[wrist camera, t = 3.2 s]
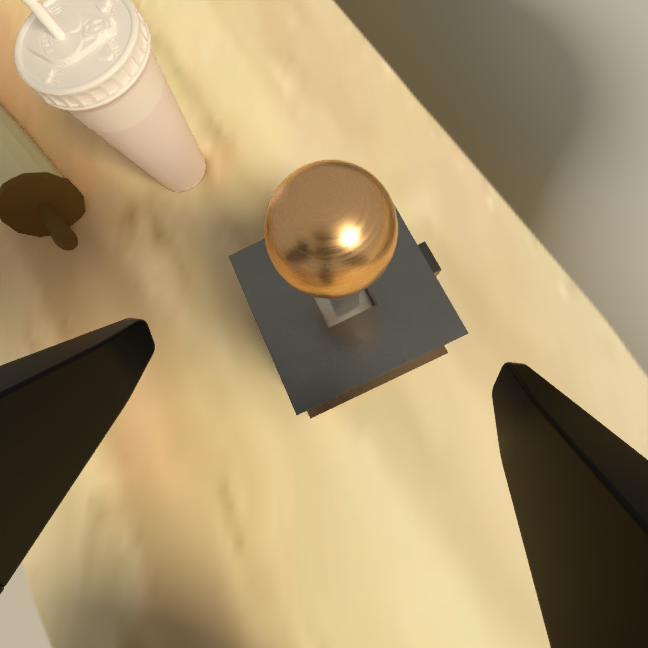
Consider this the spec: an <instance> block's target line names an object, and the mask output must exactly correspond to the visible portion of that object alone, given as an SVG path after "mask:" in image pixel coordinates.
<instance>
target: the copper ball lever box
mask: <svg viewBox="0 0 648 648" xmlns="http://www.w3.org/2000/svg"><path fill="white" fill-rule="evenodd" d="M394 207H395V205H394ZM395 210H396V215H397V221H398V237H397V244H396V248H395V252H394V254H393V256H392V259H391V261H390V263H389V265H388V267H387V268H386V270H385V271H384V272H383V274H382V275H381V276H380V277H379V278H378V279H377V280H376V281H375V282H374V283H373V284H372V285H370V286H369V287H368V288H366V289H367V291H368V293H369V295H370V296H371V298H372V300H373V302H374V304H375V306H373V307H371V308H369V309H367V310H365V311H363V312H361V313H358V314H356V315H354V316H352V317H350V318H348V319H346V320H344V321H342V322H340V323H338V324H336V325H333V326H331V327H329V328H328V326H327V324H326V322H325V319H324V317H323V315H322V313H321V311H320V309H319V307H318V305H317V303H316V301H315V299H314V297H313V296H310V295H307V294H305V293H302V292H301V291H299V290H297V289H295V288H294V287H292V286H291V285H290V284H289V283H287V282H286V281H285V279H284V278H283V277H282V276H281V275H280V274H279V273H278V271H277V270H276V269H275V267H274V265H273V263H272V261H271V259H270V257H269V254H268V252H267V248H266V244H265V239H263V240H261V241H259V242H257V243H255V244H253V245H251V246H249V247H247V248H245V249H243V250H241V251H239V252H237V253H235V254H232V255H230V256H229V258H230V261H231V263H232V265H233V268H234V270H235V272H236V275H237V277H238V279H239V282H240V284H241V286H242V289H243V291H244V293H245V296H246V298H247V300H248V303H249V305H250V307H251V310H252V312H253V314H254V317H255V319H256V321H257V324H258V326H259V328H260V331H261V333H262V335H263V338H264V340H265V342H266V345H267V347H268V349H269V352H270V354H271V356H272V359H273V361H274V363H275V366H276V368H277V370H278V373H279V375H280V377H281V380H282V382H283V384H284V387H285V389H286V391H287V394H288V396H289V398H290V401H291V403H292V405H293V408H294V410H295V412H296V415H298V414H300V413H303V412H305V411H307V412H308V414H309V416H310V418H312V417H314V416H317V415H319V414H321V413H323V412H325V411H327V410H329V409H331V408H333V407H335V406H338V405H340V404H342V403H344V402H346V401H348V400H350V399H352V398H354V397H356V396H359V395H361V394H363V393H365V392H367V391H369V390H371V389H373V388H375V387H377V386H380V385H382V384H384V383H386V382H388V381H390V380H392V379H394V378H396V377H398V376H400V375H403V374H405V373H407V372H409V371H411V370H413V369H415V368H417V367H419V366H421V365H424V364H426V363H428V362H430V361H432V360H434V359H436V358H438V357H440V356H442V355H445V354H447V353H448V352H447V350H446V348H445V346H444V345H445V344H447V343H449V342H452V341H454V340H456V339H458V338H460V337H462V336H464V335H466V334H468V332H467V330H466V328H465V326H464V325H463V323H462V321H461V320H460V318H459V316H458V314H457V313H456V311H455V309H454V307H453V306H452V304H451V302H450V301H449V299H448V297H447V295H446V294H445V292H444V290H443V288H442V287H441V285H440V283H439V281H438V280H437V278H436V276H437V275H438V274H439V272H440V271H441V268H440V266H439V265H438V263H437V261H436V260H435V258H434V256H433V254H432V253H431V251H430V249H429V248H428V246H427V244H426V242H423V243H421V244H419V245H417V243H416V242H415V240H414V238H413V237H412V235H411V233H410V231H409V230H408V228H407V226H406V224H405V223H404V221H403V219H402V218H401V216H400V214H399V212H398V211H397V209H396V207H395Z"/></svg>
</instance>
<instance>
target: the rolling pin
mask: <svg viewBox="0 0 648 648" xmlns="http://www.w3.org/2000/svg"><path fill="white" fill-rule="evenodd" d="M84 212H85V207H84V198H83V195H82V194H81V193H80V192H79V190H78V189H77V188H76V187H75V186H74V185H73V184H72V183H71V182H70V181H69V180H68V179H65V178H64V177H63V176H62V175H61V174H60V172H59V171H58V170H57V169H56V168H55V166H54V165H53V164H52V163H51V162H50V160H49V159H48V158H47V157H46V156H45V155H44V153H43V152H42V151H41V150H40V149H39V147H38V146H37V145H36V144H35V143H34V141H33V140H32V139H31V138H30V137H29V136H28V134H27V133H26V132H25V131H24V130H23V129H22V128H21V127H20V126H19V125H18V123H17V122H16V121H15V120H14V119H13V118H12V117H11V116H10V115H9V113H8V112H7V111H6V110H5V109H4V108H3V107H2V106H1V105H0V219H1V220H2V222H4V223H5V224H7V225H8V226H10V227H11V228H12V229H14V230H15V231H17V232H18V233H22V234H27V235H33V236H38V237H42V236H49V235H51V236H52V238H53V240H54V242H55V243H56V244H57V246H59V247H60V248H62V249H63V250H73V249H74V248H76V247H77V245H78V240H77V237H76V235H75V233H74V232H73V231H72V230H71V229H70V228H69V227H70V226H71V225H73V224H74V223H75V222H76V221H77V220H79V219H80V218H81V217H82V215H83V213H84Z"/></svg>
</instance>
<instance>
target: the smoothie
mask: <svg viewBox="0 0 648 648" xmlns="http://www.w3.org/2000/svg"><path fill="white" fill-rule="evenodd" d="M22 1H23V2H24V3H25V4H26V6H27V7H28V8H29V9H30V10H31V11H32V13H31V14H30V15H29V16H28V18H27V19H26V20H25V22H24V24H23V25H22V27H21V29H20V31H19V33H18V36H17V39H16V42H15V50H14V56H15V64H16V68H17V70H18V73H19V75H20V76H21V78H22V79H23V80H24V81H25V82H26V83H27V84H28V85H29V86H30V87H31V88H32V89H33V90H34V91H36V93H37V94H38V95H39V96H40V97H41V98H42V99H43V100H44V101H45V102H46V103H47V104H49V105H52V106H54V107H56V108H59V109H61V110H66V111H68V112H69V113H70V114H72V115H73V116H74V117H75V118H77V119H78V120H79V121H80V122H82V123H83V124H84V125H85V126H87V127H88V128H90V129H91V130H92V131H94V132H95V133H96V134H97V135H99V136H100V137H101V138H103V139H104V140H105V141H106V142H108V143H109V144H110V145H112V146H113V147H114V148H116V149H117V150H118V151H119V152H121V153H122V154H123V155H125V156H126V157H127V158H128V159H130V160H131V161H132V162H134V163H135V164H136V165H137V166H139V167H140V168H141V169H143V170H144V171H145V172H147V173H148V174H149V175H150V176H152V177H153V178H154V179H156V180H157V181H158V182H159V183H161V184H162V185H163V186H165V187H166V188H167V189H169V190H171V191H176V192H182V191H187V190H189V189H191V188H193V187H195V186H196V185H197V184H198V183H199V182H200V181H201V180H202V178H203V176H204V174H205V170H206V163H205V159H204V157H203V155H202V153H201V151H200V149H199V147H198V145H197V143H196V141H195V138H194V136H193V134H192V132H191V130H190V128H189V126H188V124H187V122H186V120H185V118H184V115H183V113H182V111H181V109H180V107H179V105H178V103H177V101H176V99H175V97H174V95H173V92H172V90H171V88H170V86H169V84H168V82H167V80H166V78H165V76H164V74H163V72H162V69H161V67H160V65H159V63H158V61H157V59H156V57H155V55H154V53H153V51H152V49H151V36H150V32H149V28H148V25H147V24H146V23H145V21H144V20H143V18H142V17H141V15H140V14H139V13H138V11H137V10H136V8H135V6H134V5H133V3H132V1H131V0H45V1H44V2H42V3H41V2H40V1H39V0H22Z"/></svg>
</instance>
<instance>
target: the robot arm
mask: <svg viewBox="0 0 648 648" xmlns="http://www.w3.org/2000/svg"><path fill="white" fill-rule="evenodd" d="M154 349H155V344H154V341H153V338H152V335H151V332H150V330H149V327H148V324H147V323H146V321H145V320H142V319H135V318H127V319H124V320H121V321H119V322H116V323H113V324H111V325H108V326H105V327H103V328H100V329H97V330H95V331H92V332H89V333H87V334H84V335H81V336H79V337H76V338H73V339H71V340H68V341H65V342H63V343H60V344H57V345H55V346H52V347H49V348H47V349H44V350H41V351H38V352H36V353H33V354H30V355H28V356H25V357H22V358H20V359H17V360H14V361H12V362H9V363H6V364H4V365H1V366H0V594H1V592H2V591H3V590H4V586H6V584H7V583H8V582H9V580H10V578H11V577H12V575H13V574H14V572H15V571H16V569H17V568H18V566H19V565H20V563H21V562H22V560H23V559H24V557H25V556H26V554H27V553H28V551H29V550H30V548H31V547H32V545H33V544H34V542H35V541H36V539H37V538H38V536H39V535H40V533H41V532H42V530H43V529H44V527H45V526H46V524H47V523H48V521H49V520H50V518H51V517H52V515H53V514H54V512H55V511H56V509H57V508H58V506H59V505H60V503H61V502H62V500H63V499H64V497H65V496H66V494H67V493H68V491H69V490H70V488H71V487H72V485H73V483H74V482H75V480H76V479H77V477H78V476H79V474H80V473H81V471H82V470H83V468H84V467H85V465H86V464H87V462H88V461H89V459H90V458H91V456H92V455H93V453H94V452H95V450H96V449H97V447H98V446H99V444H100V443H101V441H102V440H103V438H104V437H105V435H106V434H107V432H108V431H109V429H110V428H111V426H112V425H113V423H114V422H115V420H116V419H117V417H118V416H119V414H120V413H121V411H122V410H123V408H124V406H125V405H126V403H127V402H128V400H129V398H130V396H131V395H132V393H133V391H134V389H135V387H136V385H137V383H138V381H139V380H140V378H141V376H142V374H143V372H144V370H145V368H146V366H147V364H148V362H149V361H150V359H151V357H152V355H153V353H154ZM492 399H493V406H494V413H495V420H496V428H497V435H498V442H499V449H500V455H501V459H502V464H503V468H504V472H505V476H506V479H507V483H508V487H509V491H510V494H511V498H512V502H513V506H514V510H515V513H516V517H517V521H518V525H519V529H520V532H521V536H522V540H523V544H524V548H525V551H526V555H527V559H528V563H529V567H530V570H531V574H532V578H533V582H534V586H535V589H536V593H537V597H538V601H539V605H540V608H541V612H542V616H543V620H544V623H545V627H546V631H547V635H548V639H549V642H550V646H551V648H648V460H647V459H646V458H645V457H643V456H642V455H641V454H639V453H638V452H637V451H636V450H634V449H633V448H632V447H630V446H629V445H628V444H627V443H625V442H624V441H623V440H622V439H620V438H619V437H618V436H616V435H615V434H614V433H613V432H611V431H610V430H609V429H608V428H606V427H605V426H604V425H602V424H601V423H600V422H599V421H597V420H596V419H595V418H594V417H592V416H591V415H590V414H588V413H587V412H586V411H585V410H583V409H582V408H581V407H580V406H578V405H577V404H576V403H574V402H573V401H572V400H571V399H569V398H568V397H567V396H565V395H564V394H563V393H562V392H560V391H559V390H558V389H557V388H555V387H554V386H553V385H551V384H550V383H549V382H548V381H546V380H545V379H544V378H543V377H541V376H540V375H539V374H537V373H536V372H535V371H534V370H532V369H531V368H530V367H529V366H527V365H525V364H521V363H512V362H507V363H505V364H504V365H503V366H502V368H501V371H500V373H499V375H498V377H497V380H496V382H495V384H494V386H493V390H492Z"/></svg>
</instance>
